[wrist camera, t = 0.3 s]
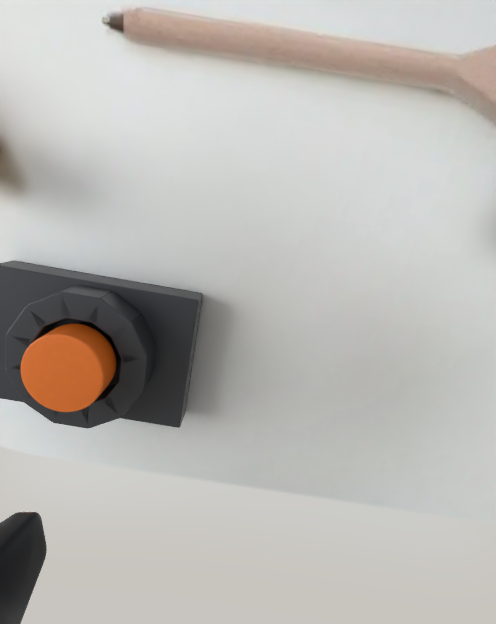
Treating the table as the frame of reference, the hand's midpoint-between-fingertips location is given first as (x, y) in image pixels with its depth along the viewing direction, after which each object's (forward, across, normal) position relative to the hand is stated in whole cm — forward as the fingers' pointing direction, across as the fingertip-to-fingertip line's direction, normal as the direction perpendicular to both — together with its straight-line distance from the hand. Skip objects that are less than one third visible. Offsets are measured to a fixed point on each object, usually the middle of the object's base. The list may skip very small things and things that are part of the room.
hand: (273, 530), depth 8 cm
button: (+12, +9, +1) cm, 14 cm away
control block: (+15, +9, +1) cm, 17 cm away
